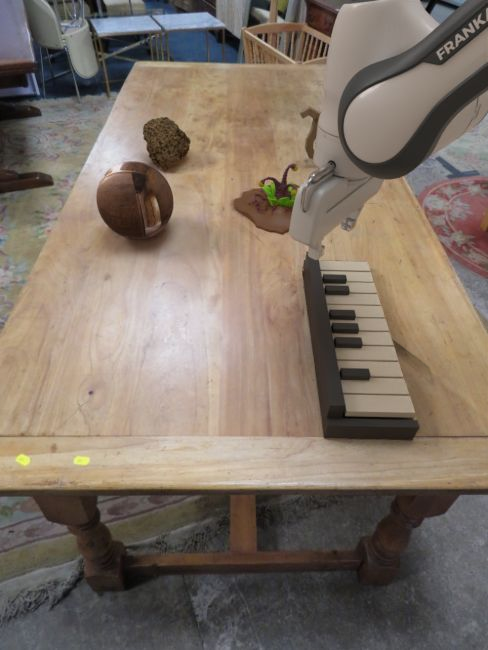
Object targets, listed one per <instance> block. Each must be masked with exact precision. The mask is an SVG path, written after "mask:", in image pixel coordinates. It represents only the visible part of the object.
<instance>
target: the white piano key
mask: <svg viewBox="0 0 488 650" xmlns="http://www.w3.org/2000/svg"><path fill="white" fill-rule="evenodd" d="M343 396H344V401H345V408H344V414H345V416H357V417H404V418H413V419H414V417H415V414H416V410H415V407H414V404H413V401H412V398H411V397H412V396H411V395H409V396H392V395H345V394H344V395H343Z"/></svg>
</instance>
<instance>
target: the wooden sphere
mask: <svg viewBox="0 0 488 650" xmlns="http://www.w3.org/2000/svg"><path fill="white" fill-rule="evenodd" d="M95 197H96V198H95V199H96V200H95V201H96V206H97V211H98V213H99V215H100V217H101V219H102V220H103V222H104V223H105V225H106V226H107V227H108V228H109V229H110V230H111V231H112V232H113V233H115V234H117V235H119V236H121V237H123V238H127V239H132V240H145V239H148V238H151V237H153V236H155V235H157V234H159V233H160V232H161V231H162V230H163V229H165V227H166V226H167V225H168V224H169V222H170V220H171V217H172V216H173V212H174V202H175V201H174V194H173V191H172V187H171V185H170V183H169V181H168V180H167V179H166V177H165V176H164V175H163V173H161V172H160V171H159V170H158V169H156V168H155V167H153V166H152V165H150V164H148V163H146V162H141V161H135V160H134V161H129V160H128V161H123V162H120V163H118V164H115V165H113V166H111V168H109V169H108V170H107V171H106V172H105V173H104V174H103V176H102V177H101V179H100V181H99V183H98V185H97V189H96V196H95Z"/></svg>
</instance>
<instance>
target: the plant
mask: <svg viewBox="0 0 488 650" xmlns="http://www.w3.org/2000/svg"><path fill="white" fill-rule="evenodd" d="M290 169H291V171H292V172H297V171H298V169H299V166H298V164H296V163H290V164H288V166H287V167H286V168H285V169H284V172H283V174H282V177H281V179H280V180H278V179H277V178H275V177H273V176H267V177H265V178H263V179H261V180H259V181H258V184H257V185H258V187H259V188H252V189H251V190H247V191H243V192H242V196H241V197H237V198H234V201H233V207H234V209H235V210H236V211H237V212H238V213H239V214H241V215H243V216H245V217H246V218H247V219H248V220H250V221H251V222H252V223H253V224H254V225H255V228H257V229H259V230H263V231H264V232H268V233H274V234H278V235H284V234H286V233H289V228H290V222H291V216H292V211H293V206H294V201H295V197H296V194H297V191H298V189H299V187H300V186H301V185H298V184H296V183H294V182H293V181H290V182H288V181H287V180H288V174H289V170H290ZM266 181H272V182H270V184H268V185H265V184H266V183H265V182H266Z"/></svg>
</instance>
